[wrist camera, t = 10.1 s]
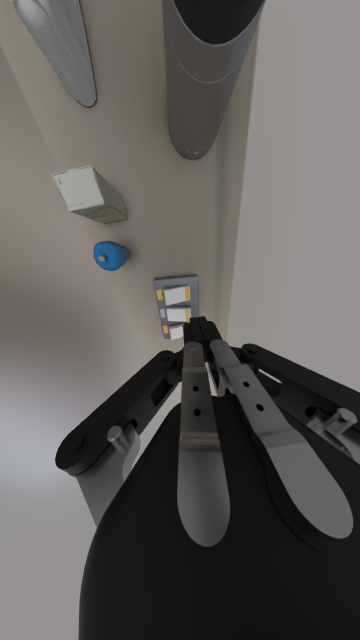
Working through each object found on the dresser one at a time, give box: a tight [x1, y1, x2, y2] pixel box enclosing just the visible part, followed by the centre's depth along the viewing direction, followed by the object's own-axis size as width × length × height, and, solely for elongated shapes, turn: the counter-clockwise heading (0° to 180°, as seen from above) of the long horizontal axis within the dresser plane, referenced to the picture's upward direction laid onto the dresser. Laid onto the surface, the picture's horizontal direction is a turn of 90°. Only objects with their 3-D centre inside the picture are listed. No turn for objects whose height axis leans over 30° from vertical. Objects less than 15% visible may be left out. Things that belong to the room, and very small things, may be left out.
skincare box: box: [51, 165, 128, 224], centre depth 24 cm, size 6×4×12 cm
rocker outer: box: [169, 322, 190, 340], centre depth 41 cm, size 4×7×2 cm, turn 95°
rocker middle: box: [166, 307, 191, 322], centre depth 38 cm, size 4×7×2 cm, turn 95°
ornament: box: [94, 241, 129, 271], centre depth 28 cm, size 5×5×15 cm
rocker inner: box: [163, 285, 190, 305], centre depth 35 cm, size 4×7×2 cm, turn 95°
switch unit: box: [154, 274, 198, 339], centre depth 41 cm, size 20×12×4 cm, turn 5°
